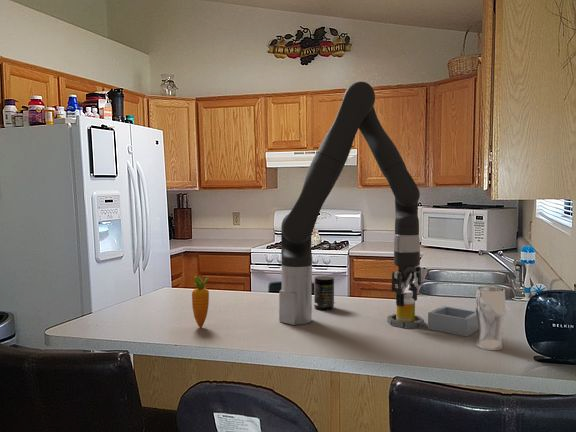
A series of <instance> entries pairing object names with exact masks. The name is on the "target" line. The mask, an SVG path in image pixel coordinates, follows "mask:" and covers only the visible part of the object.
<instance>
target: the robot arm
mask: <svg viewBox="0 0 576 432" xmlns="http://www.w3.org/2000/svg"><path fill="white" fill-rule="evenodd" d="M375 103H376V93H375V90H374V88H373V86H371V84H370V83H368V82H366V81H357V82H354V83H352V84H350V86H348V87H347V88H346V90H345V92H344V94H343V97H342V101H341V104H340V107H339V108H338V111H337V114H336V117H335V119H334V121H333V123H332V125H331V126H330V128H329V130H328V131H327V133H326V134H325V136H324V138H323V139H322V141H321V143H320V145H319V147H318V149H317V151H316V152H315V154H314V157H313V159H312V160H311V162H310V165H309V168H308V170H307V173H306V176H305V179H304V183H303V186H302V189H301V192H300V194H299V196H298V198H297V200H296V202H295V203H294V205H293V207H292V208H291V210H290V212H289V213H288V214H286V215H285V216H284V218H283V219H282V222H281V227H280V228H281V230H280V232H281V236H280V237H281V241H280V243H281V250H280V251H281V255H280V256H281V289H280V290H279V292H278V293H279V297H278V299H279V303H278V306H279V309H278V314H279V315H278V322H280V323H284V324H288V325H292V326H297V325H306V324H309V323H311V322H312V312H313V311H312V309H313V308H312V307H313V306H312V305H313V303H312V302H313V301H312V300H313V299H312V296H313V295H312V294H313V293H312V292H313V291H312V290H313V277H312V276H313V256H312V255H313V253H312V234H313V231H314V229H315V225H316V223H317V219H318V217H319V215H320V212H321V210H322V207H323V205H324V203H325V201H326V200H327V198H328V196H329V195H330V193H331V192H332V190H333V188H334V187H335V184H336V183H337V181H338V179H339V178H340V176H341V173H342V172H343V169H344V168H345V165H346V163H347V161H348V158H349V156H350V152H351V151H352V147H353V144H354V141H355V138H356V135H357V133H358V131H360V133H361V134H362V136H363V137H364V139H365V141H366V144H367V145H368V147H369V149H370V151H371V154H372V156H373V157H374V159H375V162H376V163H377V165H378V168H379V169H380V172H382V175H383V176H384V178H385V179H386V181H387V183H388V185H389V187H390V189H391V191H392V194H393V196H394V208H395V219H394V239H393V240H394V241H393V248H394V249H393V264H394V266H396V267H398V269H397V271H392V273H391V293H395V295H396V297H395V300H396V301H395V304H396V307H397V306H401V307H402V306H404V291H405V290H406V288H408V286H409V291H412V292H413V297H412V298H413V299H414V300H415V302H416V301H418V289H419V286H421V285H422V268H421V267H422V266H421V265H420V264H421V242H420V241H421V239H420V220H419V215H418V214H419V211H418V210H419V200H420V197H421V196H420V195H421V193H420V189H419V188H418V185H417V183H416V182H415V180H414V178H413V177H412V175H411V173H410V172H409V171H408V169H407V165H406V163H405V162H404V158H403V157H402V156H401V153H400V151H399V150H398V148H397V146H396V145H395V143H394V142H393V140H392V139H391V138H390V136H389V135H388V133H386V131H385V130H384V128H383V126H382V124H381V123H380V120H379V118H378V116H377V113H376V110H375V106H374V105H375Z"/></svg>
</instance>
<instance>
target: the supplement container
mask: <svg viewBox="0 0 576 432" xmlns="http://www.w3.org/2000/svg"><path fill="white" fill-rule="evenodd" d="M313 287H314V289H313V290H314V291H313V292H314V296H313V297H314V301H313V302H314V303H313V304H314V308H315V309H316V310H318V311H332V310H333V309H334V308H335V276H329V275H318V276H314V286H313Z"/></svg>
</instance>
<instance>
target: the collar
mask: <svg viewBox="0 0 576 432" xmlns="http://www.w3.org/2000/svg"><path fill="white" fill-rule="evenodd" d="M386 319H387V321H386V322H387V323H388V324H389V325H390V326H392V327H395V328H396V327H397V328H401V329H418V328H421V327H423V326H424V325H425V319H424V318H422V317H421V316H419V315H416V314H415V322H402V321H397V320H396V313H394V314H393V313H392V314H390V315H388V316H387V318H386Z"/></svg>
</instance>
